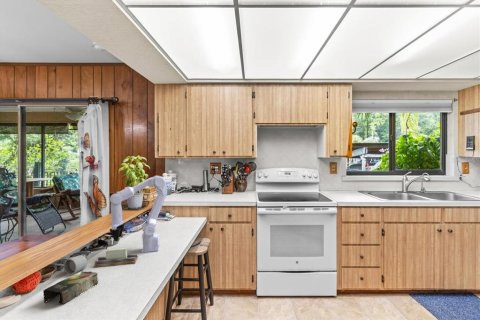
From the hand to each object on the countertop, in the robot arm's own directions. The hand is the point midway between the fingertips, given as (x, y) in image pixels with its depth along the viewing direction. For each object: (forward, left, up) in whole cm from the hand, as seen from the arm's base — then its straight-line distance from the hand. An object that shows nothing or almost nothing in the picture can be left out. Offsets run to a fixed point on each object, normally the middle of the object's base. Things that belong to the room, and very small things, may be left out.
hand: (118, 239), depth 168 cm
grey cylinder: (+17, +18, -10) cm, 27 cm away
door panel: (-2, +11, -8) cm, 14 cm away
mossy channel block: (+8, +43, -10) cm, 45 cm away
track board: (-2, +11, -9) cm, 15 cm away
